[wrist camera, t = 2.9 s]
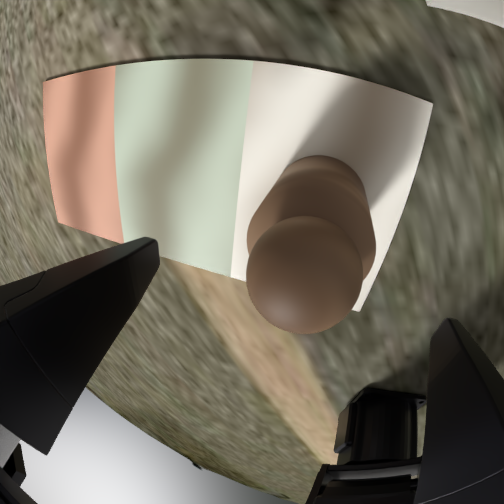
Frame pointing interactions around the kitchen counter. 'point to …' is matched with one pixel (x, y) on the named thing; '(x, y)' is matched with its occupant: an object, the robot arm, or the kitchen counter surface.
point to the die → (474, 9)
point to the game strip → (219, 150)
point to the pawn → (310, 246)
